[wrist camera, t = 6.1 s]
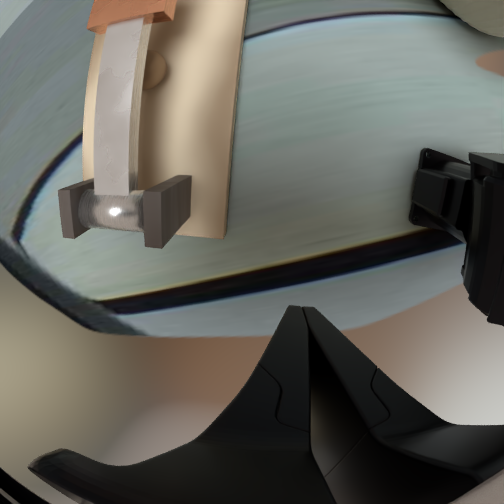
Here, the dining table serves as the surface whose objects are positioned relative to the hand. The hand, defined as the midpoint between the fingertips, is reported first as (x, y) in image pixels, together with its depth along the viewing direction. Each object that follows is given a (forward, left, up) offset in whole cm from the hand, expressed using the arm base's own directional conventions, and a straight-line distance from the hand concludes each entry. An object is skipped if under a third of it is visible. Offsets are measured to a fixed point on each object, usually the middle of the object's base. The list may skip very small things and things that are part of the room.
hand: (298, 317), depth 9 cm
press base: (+10, -9, -13) cm, 19 cm away
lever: (+10, -8, -8) cm, 15 cm away
